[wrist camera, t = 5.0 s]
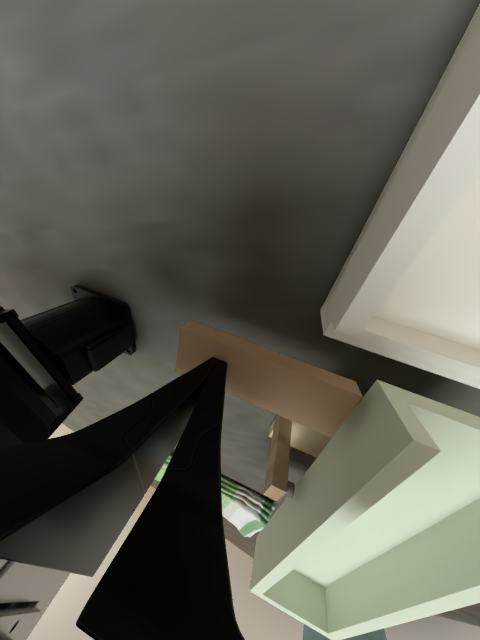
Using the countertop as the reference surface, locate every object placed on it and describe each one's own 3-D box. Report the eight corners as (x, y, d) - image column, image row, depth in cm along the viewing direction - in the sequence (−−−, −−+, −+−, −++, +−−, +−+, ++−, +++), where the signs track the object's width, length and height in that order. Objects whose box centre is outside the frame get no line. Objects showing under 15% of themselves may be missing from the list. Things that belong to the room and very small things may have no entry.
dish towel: (251, 521, 38) (247, 546, 35) (156, 469, 41) (145, 489, 38) (279, 497, 29) (276, 529, 26) (154, 434, 32) (138, 455, 29)
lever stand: (267, 425, 20) (252, 506, 14) (294, 378, 15) (287, 466, 10) (369, 470, 18) (396, 580, 13) (431, 431, 14) (512, 572, 8)
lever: (166, 487, 19) (144, 528, 16) (192, 311, 10) (154, 335, 7) (327, 575, 16) (334, 641, 13) (544, 440, 8) (682, 548, 5)
